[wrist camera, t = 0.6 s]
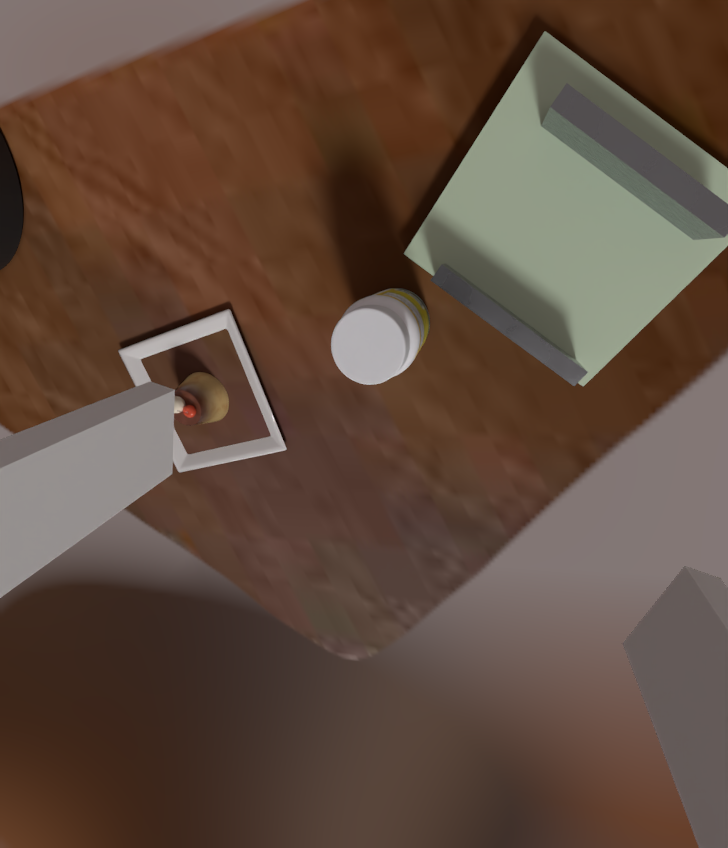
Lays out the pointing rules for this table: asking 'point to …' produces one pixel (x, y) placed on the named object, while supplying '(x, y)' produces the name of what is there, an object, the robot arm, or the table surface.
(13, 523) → the robot arm
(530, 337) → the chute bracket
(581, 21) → the table surface
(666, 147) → the board
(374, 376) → the supplement bottle
